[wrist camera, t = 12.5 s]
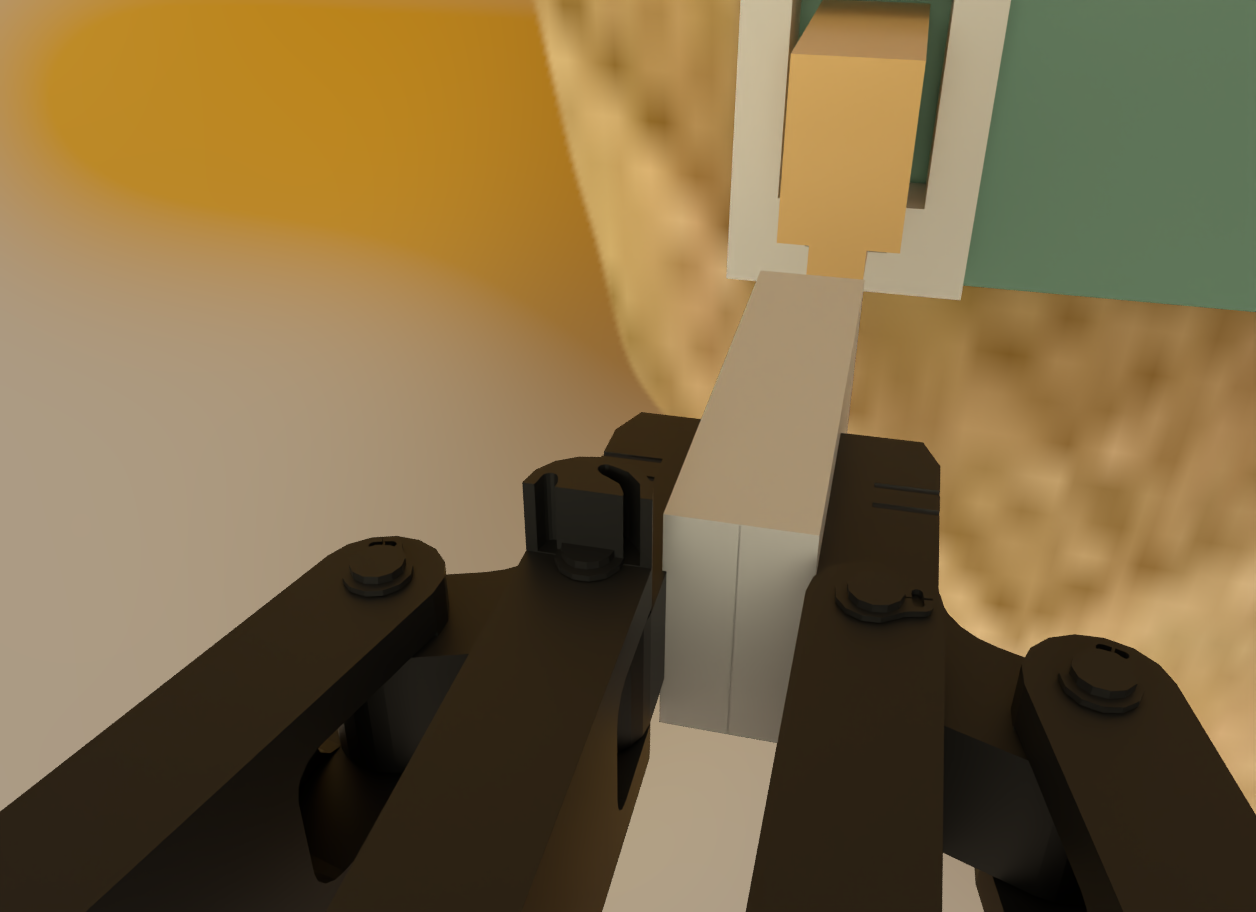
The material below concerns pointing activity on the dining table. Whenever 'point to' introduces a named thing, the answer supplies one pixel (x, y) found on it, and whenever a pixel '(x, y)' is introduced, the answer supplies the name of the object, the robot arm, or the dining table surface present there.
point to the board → (1041, 151)
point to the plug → (852, 132)
